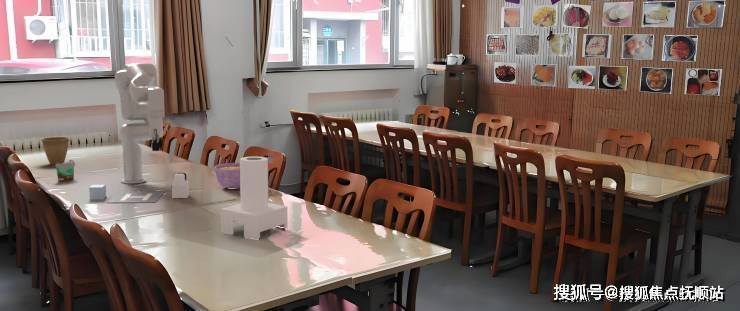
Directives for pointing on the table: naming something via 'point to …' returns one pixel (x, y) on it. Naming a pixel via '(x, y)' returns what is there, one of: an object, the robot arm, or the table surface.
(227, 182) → the bowl of food
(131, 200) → the board
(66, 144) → the plant pot
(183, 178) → the medicine bottle
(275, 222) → the paper towel holder
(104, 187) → the blue cube
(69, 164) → the food container
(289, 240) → the table surface
